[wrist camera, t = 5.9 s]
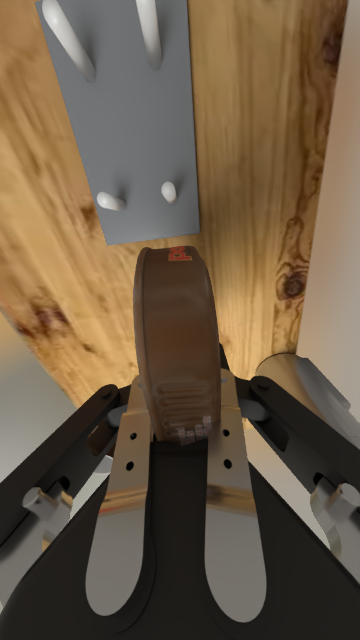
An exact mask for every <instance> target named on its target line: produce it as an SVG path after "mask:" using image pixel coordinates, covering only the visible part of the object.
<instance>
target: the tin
mask: <svg viewBox="0 0 360 640" xmlns="http://www.w3.org/2000/svg"><path fill="white" fill-rule="evenodd" d="M133 309H134V310H133V314H134V330H135V344H136V354H137V363H138V367H139V374H140V380H141V384H142V389H143V394H144V397H145V401H146V405H147V408H148V412H149V415H150V418H151V422H152V425H153V429H154V433H155V437H156V440H157V441H163V442H167V443H171V444H174V445H178V446H183V445H187V444H190V443H193V442H196V441H199V440H202V439H208V431H209V422H215V421H218V420H219V419H220V416H221V364H220V347H219V335H218V325H217V317H216V310H215V302H214V296H213V291H212V285H211V281H210V277H209V273H208V269H207V267H206V265H205V263H204V261H203V259H202V258H201V257H200V255H199V254H198V252H197V250H196V248H195V247H193V246H179V247H172V248H163V249H151V248H148V247H145V248H143V249H142V250H141V252H140V254H139V256H138V259H137V264H136V270H135V277H134V289H133Z"/></svg>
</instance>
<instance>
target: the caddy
mask: <svg viewBox="0 0 360 640" xmlns="http://www.w3.org/2000/svg"><path fill="white" fill-rule="evenodd" d="M35 5H36V8H37V11H38V15H39V18H40V21H41V25H42V28H43V32H44V35H45V38H46V42H47V45H48V48H49V52H50V55H51V58H52V62H53V65H54V69H55V72H56V75H57V79H58V82H59V85H60V89H61V92H62V95H63V99H64V102H65V106H66V109H67V112H68V116H69V119H70V122H71V126H72V129H73V132H74V136H75V139H76V143H77V146H78V149H79V153H80V156H81V159H82V163H83V166H84V169H85V173H86V176H87V180H88V183H89V186H90V190H91V193H92V196H93V200H94V203H95V206H96V210H97V213H98V217H99V220H100V223H101V227H102V230H103V233H104V237H105V240H106V243H107V245H115V244H122V243H130V242H137V241H145V240H153V239H160V238H168V237H175V236H183V235H190V234H198V233H200V226H199V208H198V191H197V173H196V156H195V138H194V121H193V103H192V86H191V68H190V51H189V33H188V16H187V0H41V1H37V2H35Z"/></svg>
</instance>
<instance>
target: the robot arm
mask: <svg viewBox="0 0 360 640" xmlns="http://www.w3.org/2000/svg"><path fill="white" fill-rule="evenodd" d="M219 347H220V364H221V416H220V419H219V420H218V421H215V422H209V431H208V439H202V440H199V441H196V442H193V443H190V444H187V445H183V446H178V445H174V444H171V443H167V442H163V441H157V440H156V437H155V433H154V429H153V425H152V422H151V418H150V415H149V412H148V408H147V405H146V401H145V397H144V394H143V389H142V384H141V380H140V375H138V376H137V377H136V378H135V379H134V380H133V381H132V384H131V385H129V386H126V387H123V388H120V389H118V387H117V386H116V385H114V384H109V385H105V386H103V387H101V388H100V389H99V390H98V391H97V392H96V393H95V394H93V395H92V396H91V397H90V398H89V399H88V400H87V401H86V402H85V403H84V404H83V405H82V406H81V407H80V408H79V409H78V410H77V411H76V412H75V413H74V414H72V415H71V416H70V417H69V418H68V419H67V420H66V421H65V422H64V423H63V424H62V425H61V426H60V427H59V428H58V429H57V430H56V431H55V432H54V433H52V435H51V436H49V437H48V438H47V439H46V440H45V441H44V442H43V443H42V444H41V445H40V446H39V447H38V448H37V449H36V450H35V451H34V452H33V453H31V455H29V456H28V457H27V458H26V459H25V460H24V461H23V462H22V463H21V464H20V465H19V466H18V467H17V468H16V469H15V470H14V471H13V472H12V473H11V474H9V476H7V477H6V478H5V479H4V480H3V481H2V482H1V483H0V601H1V602H2V605H3V607H4V608H3V610H2V612H1V614H0V640H360V423H359V422H358V421H357V420H356V419H355V418H354V417H353V415H352V414H351V413H350V412H349V411H348V410H349V409H350V403H349V402H348V400H347V399H346V398H345V397H344V396H343V395H342V394H341V393H340V392H339V391H338V390H337V389H336V388H335V387H334V386H333V384H332V383H331V382H330V381H329V380H328V379H327V378H326V377H325V376H324V375H323V374H322V373H321V372H320V371H319V370H318V368H317V367H316V366H315V365H314V364H313V363H312V362H311V361H310V360H309V359H308V358H301V357H299V356H297V355H294V354H289V353H285V354H278V355H275V356H272V357H270V358H268V359H266V360H265V361H264V362H262V363H261V365H260V366H259V367H258V369H257V371H256V376H255V377H253V378H252V379H251V380H250V381H249V380H244V379H240V378H238V377H236V376H234V375H233V373H232V372H231V371H230V369H229V366H228V362H227V359H226V356H225V353H224V350H223V346H222V344H220V343H219ZM242 417H244V418H248V420H249V422H250V423H251V424H252V425H253V426H254V428H255V429H256V430H257V431H258V432H259V434H260V435H261V436H262V437H263V438H264V440H265V441H266V442H267V443H268V444H269V445H270V447H271V448H272V449H273V450H274V451H275V452H276V454H277V455H278V456H279V457H280V459H281V460H282V461H283V462H284V463H285V464H286V466H287V467H288V468H289V469H290V470H291V472H292V473H293V474H294V475H295V476H296V477H297V479H298V480H299V481H300V482H301V483H302V485H303V486H304V487H305V488H306V489H307V491H308V492H309V493H310V494H311V496H310V505H311V509H312V512H313V514H314V516H315V518H316V520H317V521H318V523H319V524H320V526H321V527H322V529H323V531H324V532H325V534H326V537H327V539H328V542H329V544H330V549H331V551H330V550H329V549H328V548H327V547H326V545H325V544H324V543H323V542H322V541H321V540H320V539H319V538H318V537H317V536H316V535H315V533H314V532H313V531H312V530H311V529H310V528H309V527H308V526H307V525H306V523H305V522H304V521H303V520H302V519H301V518H300V517H299V516H298V515H297V513H296V512H295V511H294V510H293V509H292V508H291V507H290V506H289V505H288V504H287V502H286V501H285V500H284V499H283V498H282V497H281V496H280V495H279V494H278V493H277V491H276V490H275V489H274V488H273V487H272V486H271V485H270V484H269V483H268V482H267V480H266V479H265V478H264V477H263V476H262V475H261V474H260V473H259V472H258V471H257V469H256V468H255V467H254V466H253V465H252V464H251V463H250V462H249V461H248V458H247V452H246V444H245V437H244V430H243V423H242ZM103 419H104V420H103ZM102 420H103V421H102ZM101 421H102V423H101ZM100 423H101V424H100ZM99 424H100V425H99ZM98 425H99V426H98ZM97 426H98V427H97ZM96 427H97V428H96ZM95 428H96V429H95ZM94 429H95V431H94ZM93 431H94V432H93ZM92 432H93V433H92ZM91 433H92V434H91ZM90 434H91V435H90ZM89 435H90V436H89ZM87 438H88V439H87ZM116 441H117V442H116ZM115 442H116V447H115V452H114V457H113V462H112V467H111V472H110V474H109V475H108V476H107V478H106V479H105V480H104V481H103V482H102V484H101V485H100V486H99V487H98V488H97V489H96V491H95V492H94V493H93V494H92V495H91V496H90V498H89V499H88V500H87V501H86V502H85V504H84V505H83V506H82V507H81V508H80V509H79V511H78V512H77V513H76V514H75V515H74V516H73V518H72V519H71V520H70V521H69V518H70V512H71V508H72V503H73V499H74V498H75V497H76V495H77V494H78V492H79V491H80V490H81V488H82V487H83V486H84V484H85V483H86V482H87V480H88V479H89V478H90V476H91V475H92V473H93V472H94V471H95V469H96V468H97V467H98V465H99V464H100V463H101V461H102V460H103V458H104V457H105V456H106V454H107V453H108V452H109V450H110V449H111V448H112V446H113V445H114V444H115ZM68 521H69V523H68ZM66 524H67V525H66ZM61 529H62V531H61ZM60 531H61V532H60Z"/></svg>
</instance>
